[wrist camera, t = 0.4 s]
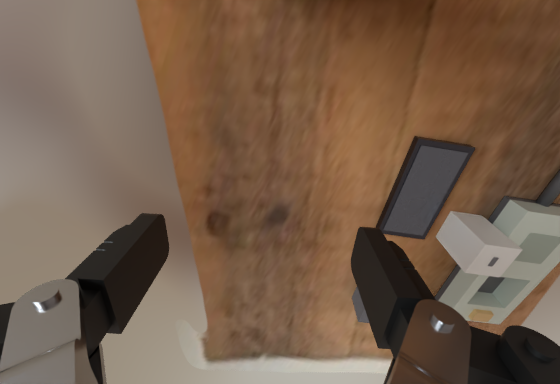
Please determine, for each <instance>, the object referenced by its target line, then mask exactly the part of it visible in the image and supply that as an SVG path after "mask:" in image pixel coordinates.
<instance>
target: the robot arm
mask: <svg viewBox="0 0 560 384" xmlns="http://www.w3.org/2000/svg"><path fill="white" fill-rule="evenodd" d="M168 253H169V242H168V237H167V230H166V224H165V219H164V216H163V215H162V214H146V213H142V214H140V215H139V216H138V217H137V218H136V219H135V220H134V221H133V222H132V223H131V224H130V225H125V226H124V227H122V228H120V229H118V230H116V231H115V232H113V233H112V234H111V235H110V236H109V237H108V238H107V239H106V240H105V241H104V243H102V244H101V245H100V246H99V247H98V248H96V251H93V253H91V254H90V255H89V256H88V257H87V258H86V259H85V260H84V261H83V262H82V263H81V264H80V265H79V266H78V267H77V268H76V269H75V270H74V271H73V272H72V273H71V274H70V275H68V276H67V278H65V279H60V280H54V281H50V282H47V283H44V284H42V285H39V286H37V287H35V288H33V289H31V290H30V291H28V292H27V293H25V294H24V295H23V296H22V297H20V298H19V299H18V300H17V301H16V302H14V303H8V304H2V305H0V384H107V383H106V375H105V366H104V358H103V349H102V345H101V341H102V339H103V338H104V336H105V335H106V333H116V334H121V333H122V332H123V330H124V328H125V327H126V325H127V323H128V322H129V320H130V318H131V317H132V315H133V313H134V312H135V310H136V309H137V307H138V305H139V304H140V302H141V300H142V299H143V297H144V295H145V294H146V292H147V291H148V289H149V287H150V286H151V284H152V282H153V281H154V279H155V278H156V276H157V274H158V273H159V271H160V269H161V268H162V266H163V264H164V263H165V261H166V259H167V257H168ZM351 268H352V273H353V276H354V279H355V282H356V284H357V287H358V290H359V293H360V296H361V299H362V302H363V305H364V308H365V311H366V314H367V317H368V320H369V323H370V326H371V329H372V332H373V335H374V337H375V340H376V343H377V346H378V348H382V349H391V351H392V354H393V359H392V362H391V364H390V367H389V370H388V373H387V376H386V378H385V381H384V384H560V346H558V345H557V344H556V343H555V342H553V341H552V340H550V339H549V338H547V337H546V336H544V335H542V334H540V333H538V332H536V331H534V330H532V329H529V328H526V327H523V326H509V327H507V328H506V329H505V331H504V332H503V334H502V335H501V336H500V335H497V334H494V333H490V332H487V331H484V330H481V329H478V328H475V327H472V326H469V324H468V323H467V321H466V320H465V319H464V317H463V316H462V315H461V314H460V313H458V312H457V311H456V310H455V309H453V308H452V307H450V306H448V305H446V304H444V303H442V302H439V301H436V299H435V298H434V296H433V295H432V293H431V292H430V290H429V289H428V287H427V286H426V284H425V283H424V281H423V280H422V278H421V276H420V275H419V273H418V272H417V270H415V267H414V266H413V264H412V263H411V261H409V258H408V257H407V255H406V254H405V252H404V251H403V249H401V248H400V247H399V246H398V245H396V244H395V243H394V242H393V241H387V239H386V238H385V236H384V234H383V233H382V231H381V230H380V229H379V228H370V227H360V228H359V229H358V232H357V236H356V240H355V244H354V248H353V252H352V257H351Z"/></svg>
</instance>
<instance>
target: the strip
mask: <svg viewBox="0 0 560 384" xmlns="http://www.w3.org/2000/svg"><path fill="white" fill-rule="evenodd" d="M559 194H560V170H559V172H558V173H557V174H556V176H555V177H554V178H553V179H552V181H551V182H550V183H549V185H548V186H547V187H546V189H545V190H544V191H543V192H542V194H541V195H540V196H539V198H538V199H537V200H536V201H535V200H529V199H522V198H516V197H509V196H504V198H503V199H502V201H501V202H500V203H499V205H498V206H497V208H496V209H495V211H494V212H493V214H492V215H491V216H490V218H489V219H488V221H489V222H490V223H492V224H493V225H494V226H495V227H496V228H498V229H499V230H500V231H501V232H502V233H504V234H505V235H506V236H507V237H508V238H509V239H511V240H512V241H513V242H514V243H515V244H517V245H518V246H519V247H520V248H521V249H523V250H522V251H521V253H520V254H519V255H518V256H517V257H516V259H515V260H514V261H513V262H512V263H511V265H510V266H509V267H508V268H507V269H506V271H505V272H504V273H503V274H502V275H501V277H492V276H485V275H477V274H470V273H465V272H464V271H463V270H462V269H461V268H460V266H459V265H458V264H457V266H456V267H455V268H454V270H453V271H452V273H451V274H450V276H449V277H448V279H447V280H446V281H445V283H444V284H443V286H442V287H441V289H440V290H439V292H438V293H437V294H436V296H435V297H434V298H435V299H436V301H439V302H442V303H444V304H446V305H448V306H450V307H452V308H453V309H455V310H456V311H457V312H458V313H460V314H461V315H462V316H463V317H464V319H465V320H466V321H475V322H483V323H491V324H501V323H502V321H503V320H504V319H505V318H506V317H507V316H508V315H509V314H510V313H511V312H512V311H513V310H514V309H515V308H516V307H517V306H518V305H519V304H520V303H521V302H522V301H523V300H524V299H525V297H526V296H527V295H528V294H529V293H530V292H531V291H532V290H533V289H534V288H535V287H536V286H537V285H538V284H539V283H540V282H541V281H542V280H543V279H544V278H545V277H546V276H547V275H548V274H549V272H550V271H551V270H552V269H553V268H554V267H555V266H556V265H557V264H558V263H559V262H560V204H554V203H552V202H553V201H554V200H555V199H556V198H557V196H558V195H559Z"/></svg>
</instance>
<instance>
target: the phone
mask: <svg viewBox="0 0 560 384" xmlns="http://www.w3.org/2000/svg"><path fill="white" fill-rule="evenodd" d="M474 150H475V147H473V146H471V145H467V144H461V143H455V142H448V141H442V140H436V139H430V138H424V137H418V136H415V137H414V139H413V141H412V144H411V146H410V148H409V151H408V153H407V155H406V158H405V160H404V162H403V165H402V167H401V169H400V172H399V174H398V176H397V179H396V181H395V183H394V186H393V188H392V190H391V193H390V195H389V197H388V200H387V202H386V204H385V207H384V209H383V211H382V214H381V216H380V218H379V221H378V223H377V225H376V228H379V229H380V230H381V231H382V233H383V234H389V235H396V236H403V237H410V238H417V239H425V237H426V235H427V233H428V232H429V230H430V228H431V226H432V224H433V223H434V221H435V219H436V217H437V216H438V214H439V212H440V210H441V208H442V207H443V205H444V203H445V201H446V200H447V198H448V196H449V194H450V192H451V191H452V189H453V187H454V185H455V184H456V182H457V180H458V178H459V176H460V175H461V173H462V171H463V169H464V168H465V166H466V164H467V162H468V160H469V159H470V157H471V155H472V153H473V152H474Z"/></svg>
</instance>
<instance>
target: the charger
mask: <svg viewBox="0 0 560 384" xmlns="http://www.w3.org/2000/svg"><path fill="white" fill-rule="evenodd" d="M436 238H437V239H438V240H439V242H440V243H441V244H442V245H443V247H444V248H445V249H446V250H447V252H448V253H449V254H450V255H451V256H452V258H453V259H454V260H455V261H456V263H457V264H458V265H459V266H460V268H461V269H462V270H463V271H464V272H465V273H470V274H477V275H485V276H492V277H501V275H502V274H503V273H504V272H505V271H506V269H507V268H508V267H509V266H510V265H511V263H512V262H513V261H514V260H515V259H516V257H517V256H518V255H519V254H520V253H521V251H522V250H523V249H521V248H520V247H519V246H518V245H517V244H515V243H514V242H513V241H512V240H511V239H509V238H508V237H507V236H506V235H505V234H504V233H502V232H501V231H500V230H499V229H498V228H496V227H495V226H494V225H493V224H492V223H490V222H489V221H488V220H487V219H486V218H484V217H483V216H481V215H475V214H468V213H461V212H454V211H450V213H449V215H448V217H447V218H446V220H445V222H444V223H443V225H442V227H441V228H440V230H439V232H438V233H437V235H436Z"/></svg>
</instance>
